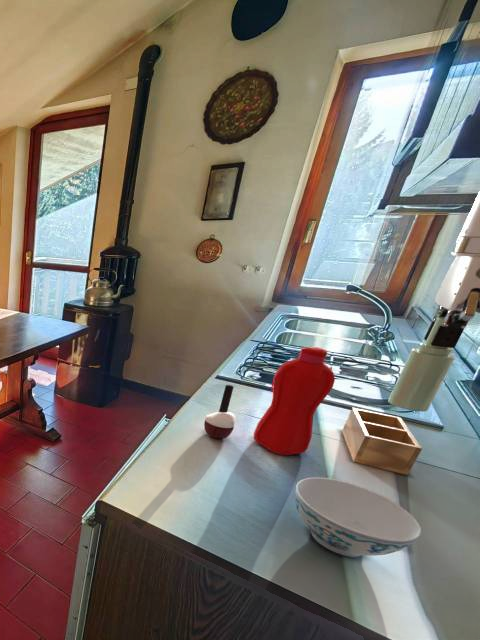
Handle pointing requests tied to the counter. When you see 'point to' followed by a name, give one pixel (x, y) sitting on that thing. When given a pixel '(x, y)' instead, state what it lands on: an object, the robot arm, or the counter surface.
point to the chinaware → (353, 518)
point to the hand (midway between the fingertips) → (438, 342)
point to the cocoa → (221, 418)
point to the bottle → (422, 374)
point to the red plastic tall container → (295, 402)
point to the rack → (380, 441)
